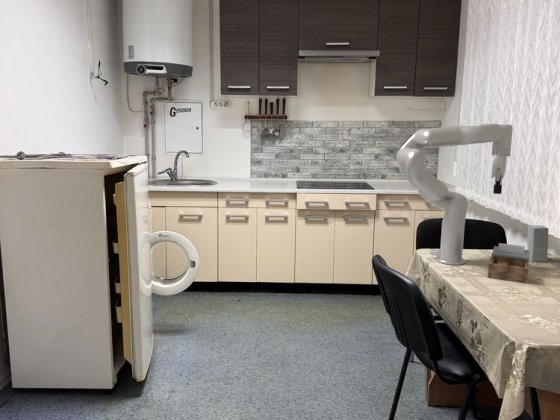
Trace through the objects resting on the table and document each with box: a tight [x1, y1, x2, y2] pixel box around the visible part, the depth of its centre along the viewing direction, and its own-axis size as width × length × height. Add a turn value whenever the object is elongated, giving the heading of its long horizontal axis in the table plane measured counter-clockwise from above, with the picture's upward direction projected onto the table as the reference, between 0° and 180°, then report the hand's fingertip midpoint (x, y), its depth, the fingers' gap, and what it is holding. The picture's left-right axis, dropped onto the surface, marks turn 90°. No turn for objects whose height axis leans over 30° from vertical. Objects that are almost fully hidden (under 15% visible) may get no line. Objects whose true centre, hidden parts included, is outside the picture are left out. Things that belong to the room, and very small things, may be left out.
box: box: [487, 255, 530, 284], centre depth 185 cm, size 14×14×6 cm
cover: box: [491, 242, 530, 261], centre depth 195 cm, size 14×14×4 cm
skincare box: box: [526, 224, 550, 263], centre depth 209 cm, size 8×7×16 cm
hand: (497, 193), depth 203 cm, fingers closed
